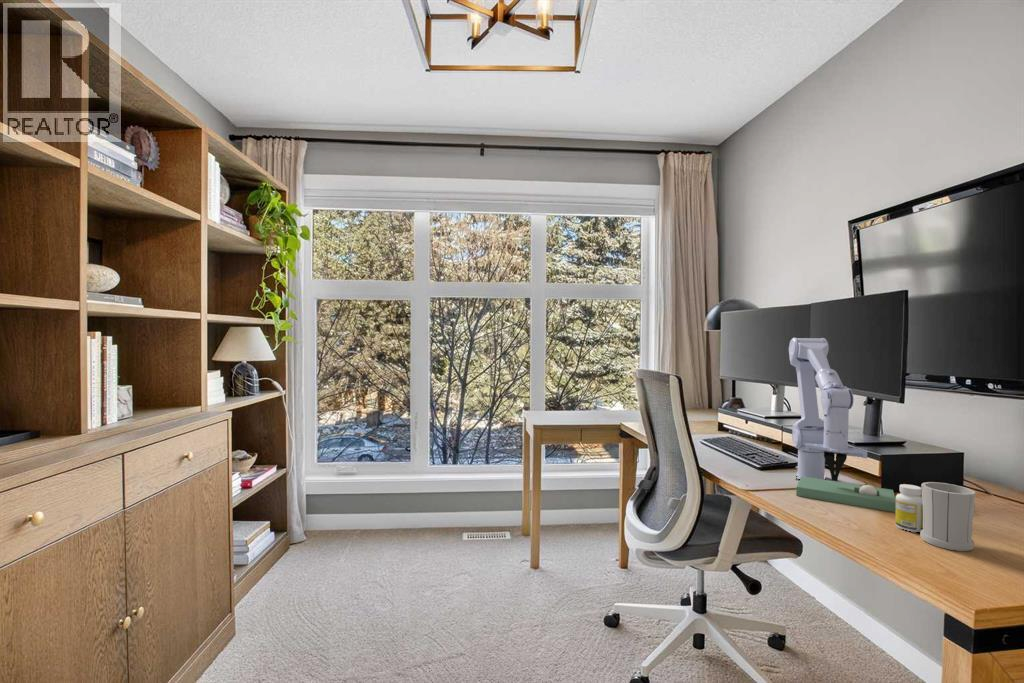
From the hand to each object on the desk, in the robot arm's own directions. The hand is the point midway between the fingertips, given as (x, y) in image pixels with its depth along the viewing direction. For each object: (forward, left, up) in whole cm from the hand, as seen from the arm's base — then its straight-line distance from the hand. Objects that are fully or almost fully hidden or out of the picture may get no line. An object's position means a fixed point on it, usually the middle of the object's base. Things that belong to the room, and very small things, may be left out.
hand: (834, 480), depth 141 cm
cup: (+24, +21, -5) cm, 32 cm away
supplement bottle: (+19, +15, -5) cm, 25 cm away
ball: (0, +8, -2) cm, 8 cm away
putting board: (0, +2, -4) cm, 5 cm away
